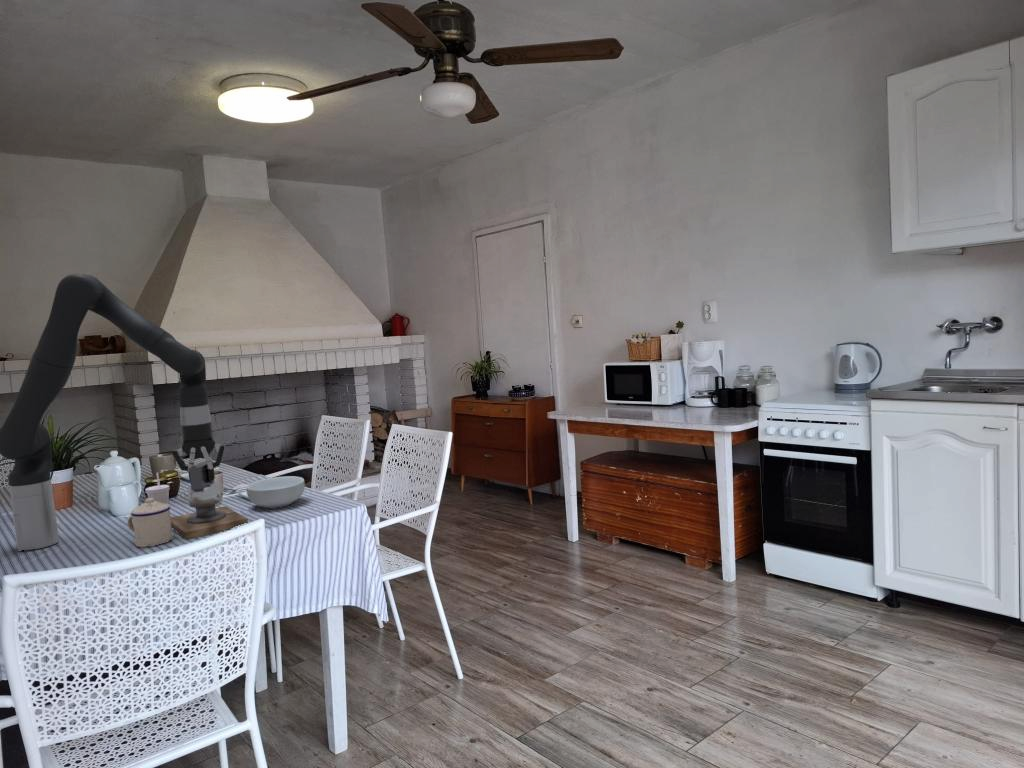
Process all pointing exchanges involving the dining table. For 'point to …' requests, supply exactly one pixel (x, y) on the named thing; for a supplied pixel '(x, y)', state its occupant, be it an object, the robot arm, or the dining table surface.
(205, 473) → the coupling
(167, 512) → the teacup with lid
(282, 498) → the cereal bowl
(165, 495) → the smoothie
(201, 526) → the lock base
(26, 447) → the robot arm
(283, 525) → the dining table surface
